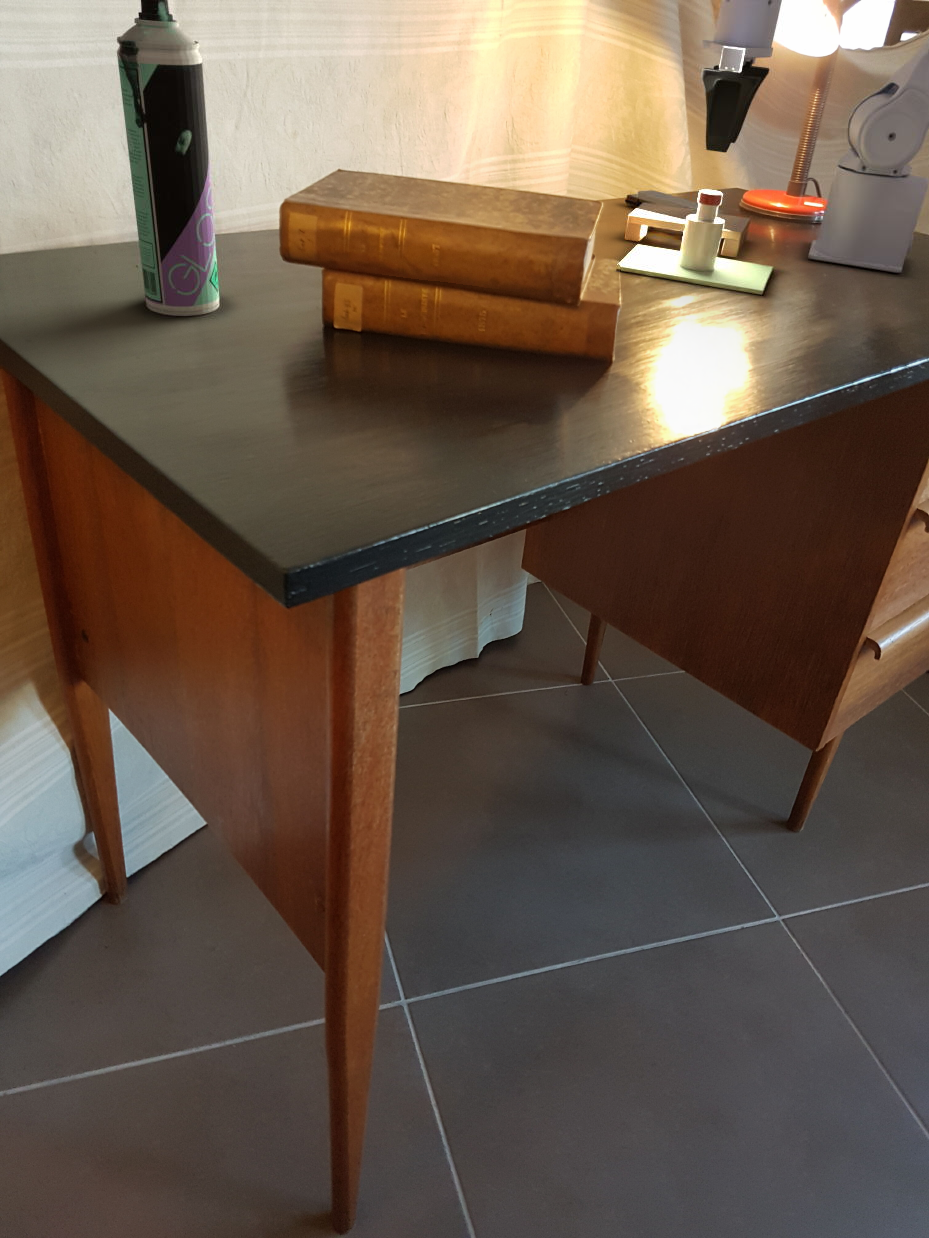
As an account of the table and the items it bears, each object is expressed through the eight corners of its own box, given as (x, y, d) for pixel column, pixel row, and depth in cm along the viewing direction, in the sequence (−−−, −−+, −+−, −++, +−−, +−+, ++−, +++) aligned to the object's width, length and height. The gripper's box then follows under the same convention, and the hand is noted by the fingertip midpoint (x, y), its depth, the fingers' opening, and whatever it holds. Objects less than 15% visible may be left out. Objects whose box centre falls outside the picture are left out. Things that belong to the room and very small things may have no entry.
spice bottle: (716, 265, 95) (732, 192, 91) (711, 273, 92) (727, 198, 88) (680, 259, 96) (695, 186, 92) (674, 267, 93) (689, 192, 89)
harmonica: (624, 205, 117) (626, 188, 116) (641, 204, 119) (644, 186, 118) (712, 233, 108) (716, 215, 107) (730, 231, 110) (734, 213, 108)
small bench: (745, 242, 106) (750, 218, 104) (736, 257, 100) (741, 232, 98) (639, 225, 109) (643, 202, 107) (624, 239, 103) (628, 215, 101)
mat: (772, 270, 96) (773, 266, 96) (761, 295, 88) (763, 290, 88) (636, 248, 100) (637, 244, 100) (615, 269, 92) (616, 265, 92)
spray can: (201, 320, 71) (175, 1, 60) (133, 310, 72) (93, -7, 60) (230, 299, 75) (211, 0, 64) (166, 290, 76) (135, -8, 65)
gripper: (721, -12, 99) (693, 133, 107) (701, -13, 87) (672, 150, 95) (790, -6, 97) (757, 141, 105) (779, -5, 86) (743, 159, 93)
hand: (721, 146), depth 100 cm, fingers open, 7 cm apart
